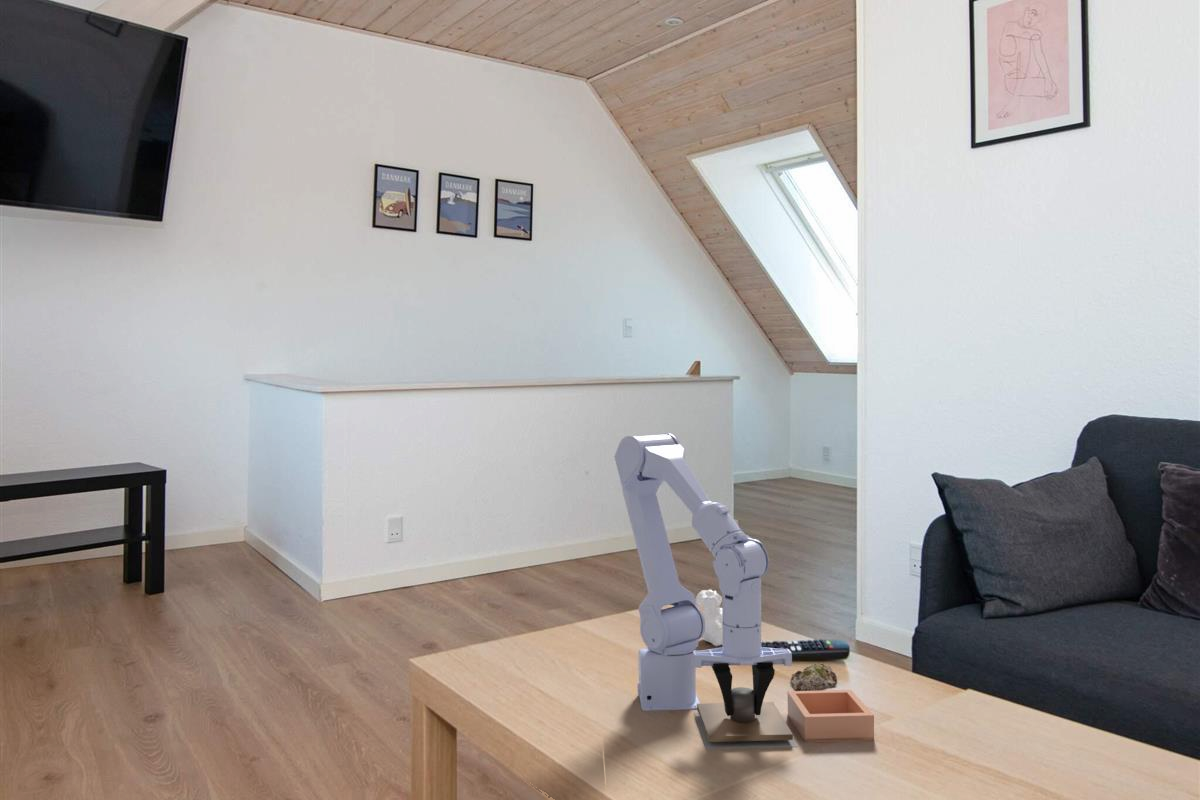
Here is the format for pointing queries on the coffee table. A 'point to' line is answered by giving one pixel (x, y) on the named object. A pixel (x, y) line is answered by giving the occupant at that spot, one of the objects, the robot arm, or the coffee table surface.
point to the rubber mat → (741, 743)
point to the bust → (711, 616)
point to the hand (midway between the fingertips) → (742, 712)
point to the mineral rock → (814, 678)
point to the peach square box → (830, 716)
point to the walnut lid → (743, 720)
